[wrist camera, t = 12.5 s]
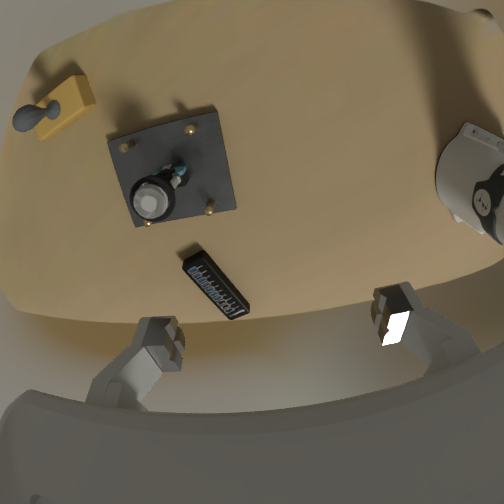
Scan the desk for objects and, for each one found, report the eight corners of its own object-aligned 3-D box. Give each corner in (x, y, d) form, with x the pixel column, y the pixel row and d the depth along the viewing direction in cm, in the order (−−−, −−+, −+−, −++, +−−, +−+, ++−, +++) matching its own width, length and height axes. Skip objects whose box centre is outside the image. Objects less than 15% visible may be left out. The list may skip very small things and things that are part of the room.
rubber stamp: (53, 136, 31) (3, 160, 22) (41, 107, 28) (-10, 124, 18) (97, 105, 30) (47, 118, 20) (85, 73, 27) (33, 77, 17)
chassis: (217, 111, 32) (214, 113, 29) (236, 206, 40) (235, 217, 37) (110, 140, 33) (98, 146, 30) (137, 224, 41) (129, 235, 38)
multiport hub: (204, 247, 44) (202, 256, 42) (250, 303, 51) (250, 312, 49) (183, 259, 45) (180, 267, 43) (230, 312, 52) (230, 321, 50)
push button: (150, 196, 37) (124, 231, 29) (140, 162, 34) (109, 188, 26) (193, 188, 37) (178, 222, 28) (185, 152, 34) (165, 175, 26)
